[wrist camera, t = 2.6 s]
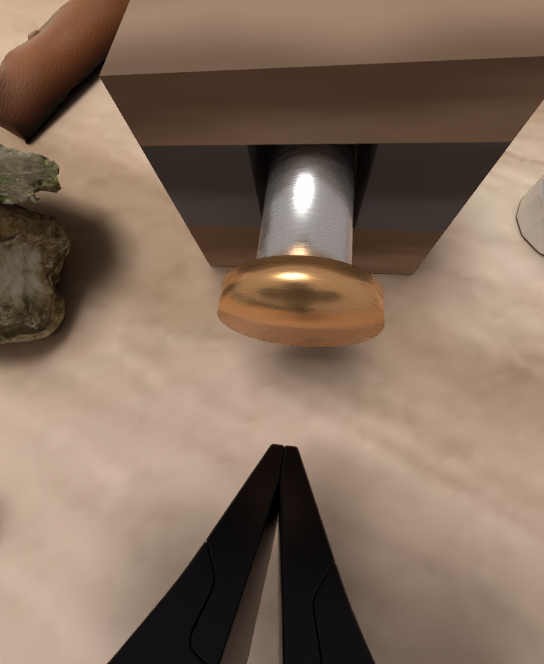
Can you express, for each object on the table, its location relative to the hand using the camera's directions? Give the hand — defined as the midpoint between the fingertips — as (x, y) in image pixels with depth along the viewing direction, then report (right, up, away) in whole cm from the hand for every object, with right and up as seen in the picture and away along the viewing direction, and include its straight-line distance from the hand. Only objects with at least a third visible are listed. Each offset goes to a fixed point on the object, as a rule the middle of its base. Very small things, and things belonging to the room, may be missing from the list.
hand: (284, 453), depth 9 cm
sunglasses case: (-22, +30, +21) cm, 43 cm away
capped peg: (+2, +9, +7) cm, 12 cm away
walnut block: (+3, +14, +12) cm, 19 cm away
